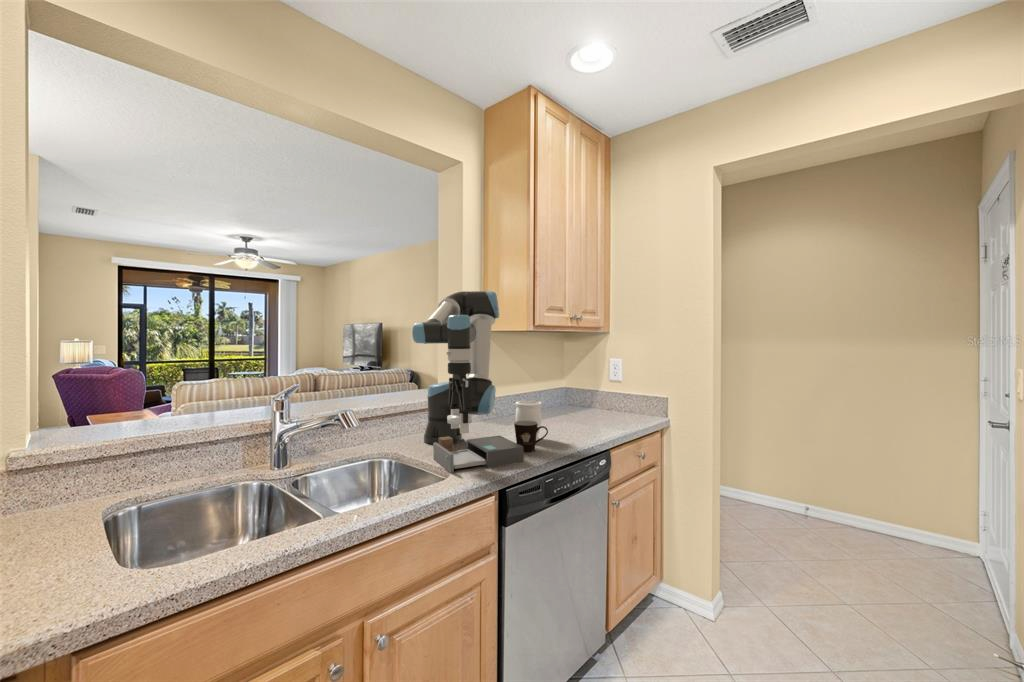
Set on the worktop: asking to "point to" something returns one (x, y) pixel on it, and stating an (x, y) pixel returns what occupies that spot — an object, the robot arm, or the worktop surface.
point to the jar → (529, 412)
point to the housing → (496, 450)
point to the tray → (456, 458)
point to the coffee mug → (527, 434)
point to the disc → (456, 419)
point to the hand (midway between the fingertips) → (459, 430)
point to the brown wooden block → (446, 443)
